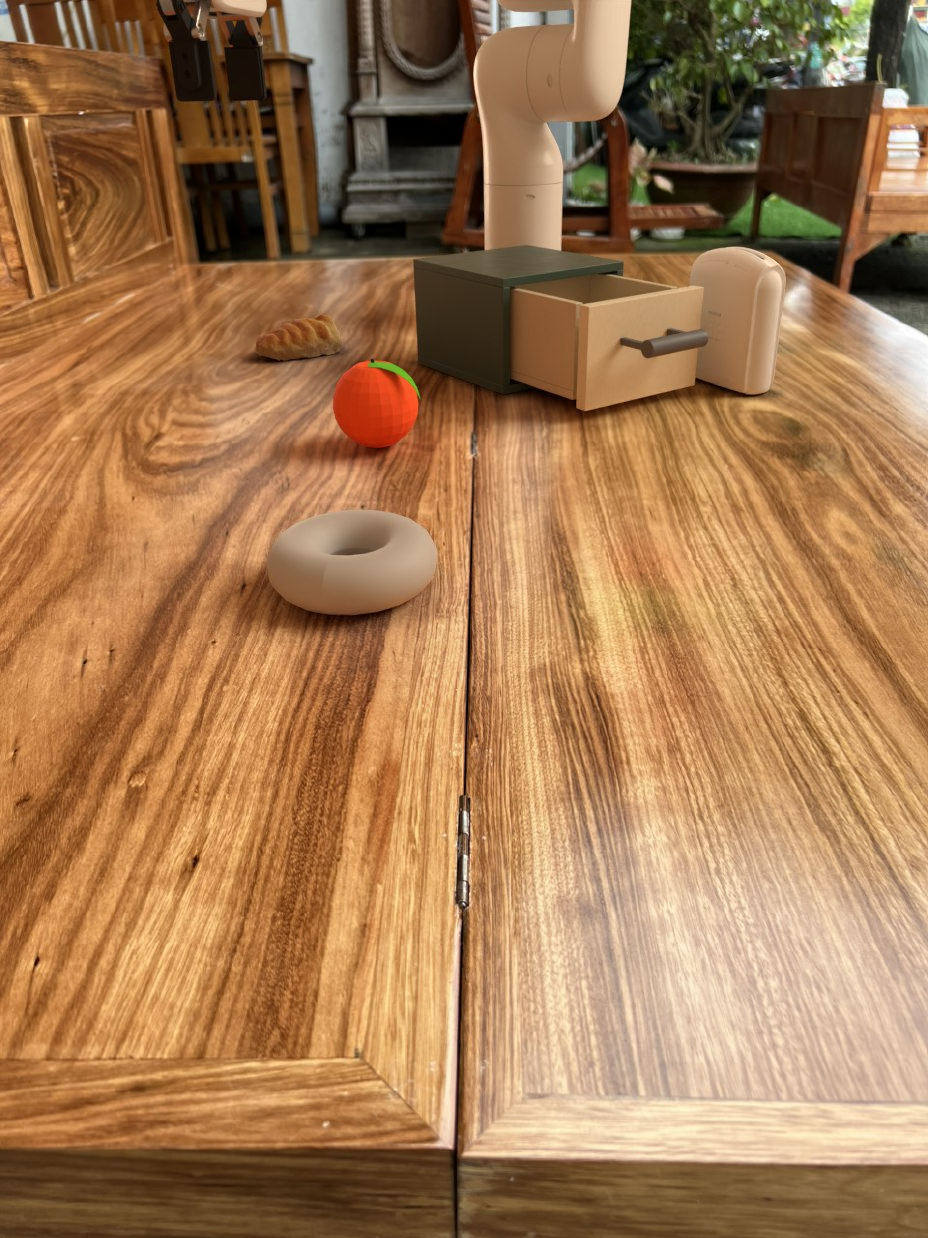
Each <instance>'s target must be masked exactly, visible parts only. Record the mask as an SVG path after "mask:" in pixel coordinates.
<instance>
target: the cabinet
mask: <svg viewBox="0 0 928 1238" xmlns="http://www.w3.org/2000/svg"><path fill="white" fill-rule="evenodd" d="M624 262H625V261H623V260H619V259H612V258H607V257H600V256H595V255H590V254H589V255H588V254H583V253H576V252H570V251H566V250H565V251H564V250H561V251H560V250H554V249H548V248H542V247H536V246H530V245H522V246H514V247H506V248H498V249H490V250H485V249H483V250H475V251H468V252H459V253H451V254H444V255H435V256H427V257H419V258H413V259H412V264H413V285H414V286H413V287H414V304H415V305H414V306H415V328H416V348H417V349H416V350H417V364H419V365H423V366H425V367H427V368H430V369H433V370H435V371H438V372H441V373H444V374H446V375H449V376H452V377H454V378H457V379H459V380H463V381H465V382H468V383H470V384H473V385H476V386H479V387H482V388H484V389H486V390H490V391H491V392H496V393H498V394H500V395H509V394H513V393H518V392H523V391H526V390H531V389H536V388H537V387H534V386H531V385H528V384H525V383H522V382H519V381H516V380H513V379H510V287H512V286H519V285H525V284H532V283H539V282H545V281H552V280H559V279H565V278H572V277H579V276H585V275H592V274H599V273H606V274H612V275H617V276H622V277H624V264H625V263H624ZM537 389H538V388H537Z"/></svg>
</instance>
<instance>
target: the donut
mask: <svg viewBox="0 0 928 1238" xmlns="http://www.w3.org/2000/svg"><path fill="white" fill-rule="evenodd" d="M438 558H439V552H438V547H437V546H436V543H435V541H434V540H433V538H432V537H431V534H430V533H429V531H428V530H427V529H426V528H424V527H423V526H422V525H420V524H419V523H418V522H416V521H414V520H413V519H411V518H410V517H407V516H403V515H401V514H398V513H395V512H390V511H383V510H378V509H377V510H376V509H344V510H343V509H342V510H335V511H329V512H325V513H321V514H316V515H313V516H311V517H308V518H306V519H303V520H301V521H299V522H298V521H297V522H296V523H293V524H292V525H290V526H289V527H288V528H286V529H284V530H283V531H282V532H281V533H280V534H279V535H277V537H275V539H274V541H273V543H272V544H271V547H270V548H269V550H268V552H267V555H266V563H265V565H266V571H267V576H268V577H267V578H268V580H269V583H270V585H271V586H272V587H273V589H274V590H275V592H277V593H278V594H279V595H280V596H281V597H282V598H283V599H284V600H285V601H286V602H288V603H290V604H291V605H294V606H296V607H298V608H301V609H303V610H305V611H308V612H313V613H318V614H322V615H329V616H356V615H364V614H371V613H378V612H381V611H385V610H388V609H392V608H396V607H398V606H401V605H403V604H404V603H407V602H409V601H410V600H412V599H414V598H415V597H417V596H418V595H419V594H420V593H422V591H423V590H424V589H425V588H426V587H427V586H428V585H429V584H430V583H431V582H432V580H433V578H434V576H435V575H436V574H435V573H436V569H437V564H438Z"/></svg>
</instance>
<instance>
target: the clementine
mask: <svg viewBox="0 0 928 1238" xmlns="http://www.w3.org/2000/svg"><path fill="white" fill-rule="evenodd" d="M418 389H419V388H418V387H417V385H416V383H415V381H414V380H413V378H412V377H411V376H410V375H409V374H408V372H407V371H405V370H404V369H403V368H401V366H398V365H396V364H394V363H391V362H390V361H385V360H375V359H374V358H370V360H366V361H362V362H358V363H356V364H354V365H353V366H352V367H350V368H349V369H348V370H347V371H345V372H344V373H343V374H342V376H341V377H340V379H339V380H338V381H337V383H336V385H335V389H334V392H333V397H332V411H333V414H334V419H335V421H336V423H337V425H338V427H339V428H340V430H341V431H342V432H343V433H344V434H345V435H346V437H347V438H348V439H349V440H351V441H353V442H355V443H357V444H359V445H360V446H362V447H367V448H371V449H372V448H373V449H381V448H386V447H390V446H393V445H395V444H397V443H399V442H400V441H402V439H404V438H405V437H407V435H408V434H409V433H410V431H411V430H412V428H413V427H414V425H415V423H416V420H417V418H418V414H419V400H420V401H422V399H421V396H420V392H419V390H418ZM418 398H419V399H418Z"/></svg>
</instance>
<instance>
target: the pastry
mask: <svg viewBox="0 0 928 1238" xmlns="http://www.w3.org/2000/svg"><path fill="white" fill-rule="evenodd" d="M342 345H343V338H342V337H341V335H340V331H339V329H338V328H337V327H336V324H335V321H334V320H333V318H331V316H329V315H327V314H319V315H314V316H313V317H306V318H295V319H291V320H289V321H288V322H286V323H283V324H281V325H280V326H278V327H277V328H274V329H271V330H269V331H268V332H267V333H264V334H263V335H262V336H260V337H258V338H257V340H256V342H255V355H257V356H263V357H266V358H270V359H274V360H277V361H278V362H279V361H281V360H282V361H285V362H286V361H289V360H300V359H302V358H303V359H304V358H310V359H311V358H317V357H320V356H321V355H326V356H331V355H334V354H336V353H338V352H340V349H341V347H342Z"/></svg>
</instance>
